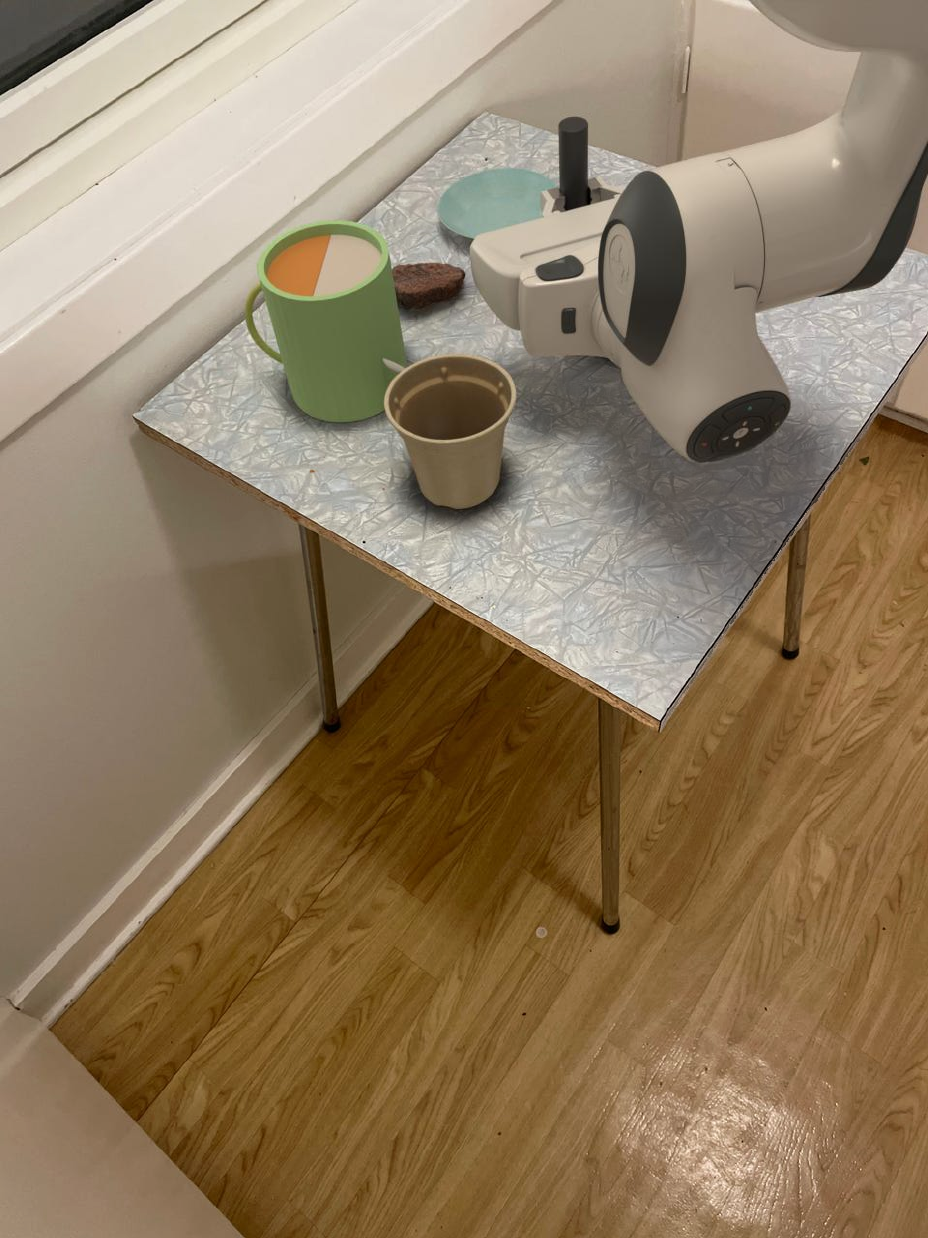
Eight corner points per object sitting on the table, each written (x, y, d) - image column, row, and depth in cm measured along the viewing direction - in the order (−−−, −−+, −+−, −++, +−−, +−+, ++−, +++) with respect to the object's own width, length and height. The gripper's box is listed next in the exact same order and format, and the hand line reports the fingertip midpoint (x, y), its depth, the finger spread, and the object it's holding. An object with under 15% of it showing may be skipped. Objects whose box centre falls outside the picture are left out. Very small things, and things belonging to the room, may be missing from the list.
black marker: (581, 273, 90) (581, 113, 79) (591, 287, 89) (592, 127, 78) (557, 279, 90) (554, 120, 79) (566, 294, 88) (564, 134, 77)
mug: (416, 339, 92) (397, 216, 82) (400, 422, 86) (378, 300, 76) (276, 339, 94) (242, 218, 84) (251, 421, 87) (211, 301, 78)
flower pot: (452, 421, 85) (441, 335, 79) (545, 469, 81) (542, 383, 75) (375, 491, 82) (356, 407, 75) (468, 545, 78) (458, 462, 71)
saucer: (436, 263, 98) (433, 241, 96) (442, 191, 105) (440, 170, 103) (563, 256, 97) (562, 235, 95) (560, 184, 104) (560, 163, 102)
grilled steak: (370, 300, 96) (365, 271, 93) (427, 263, 98) (423, 233, 96) (420, 330, 93) (417, 301, 90) (477, 290, 95) (475, 261, 93)
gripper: (779, 213, 74) (693, 121, 82) (504, 289, 72) (444, 186, 80) (766, 289, 79) (687, 195, 87) (509, 362, 77) (452, 258, 85)
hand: (569, 191), depth 83 cm, fingers closed on black marker, 2 cm apart
